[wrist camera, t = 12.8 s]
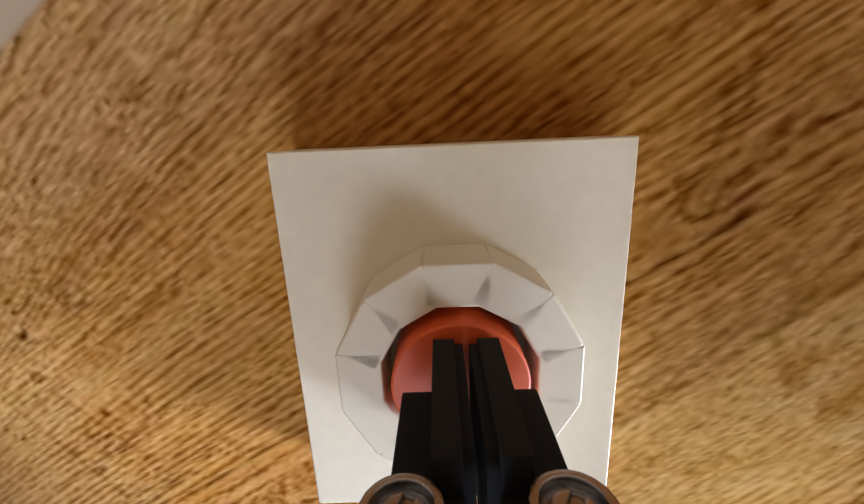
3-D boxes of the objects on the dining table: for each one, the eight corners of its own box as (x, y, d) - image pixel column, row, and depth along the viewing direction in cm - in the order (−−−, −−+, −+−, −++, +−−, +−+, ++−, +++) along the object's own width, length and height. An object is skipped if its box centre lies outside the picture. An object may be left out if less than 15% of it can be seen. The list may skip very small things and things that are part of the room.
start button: (393, 298, 12) (385, 326, 10) (519, 294, 11) (533, 321, 10) (401, 406, 12) (395, 448, 11) (517, 402, 12) (530, 444, 11)
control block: (292, 149, 13) (232, 155, 9) (606, 135, 13) (680, 135, 9) (334, 456, 16) (302, 555, 12) (583, 449, 16) (630, 547, 12)
